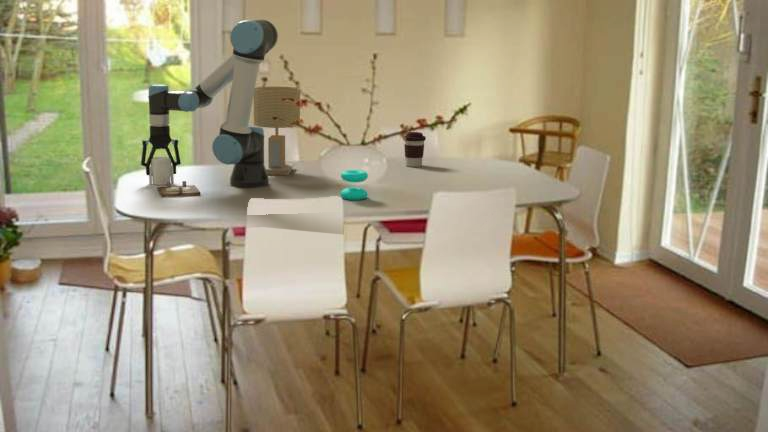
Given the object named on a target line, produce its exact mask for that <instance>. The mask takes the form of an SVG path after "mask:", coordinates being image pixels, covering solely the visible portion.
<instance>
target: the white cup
mask: <svg viewBox="0 0 768 432" xmlns="http://www.w3.org/2000/svg"><path fill="white" fill-rule="evenodd" d="M150 166H151V168H152V185H155V186H164V185H165V186H167V182H171V166H172V163H171V159H170V158H169V156H155V157H154V156H153V159H151V164H150Z"/></svg>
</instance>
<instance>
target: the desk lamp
mask: <svg viewBox="0 0 768 432" xmlns="http://www.w3.org/2000/svg"><path fill="white" fill-rule="evenodd" d="M283 98H293V99H294V100H295V101H300V102H301V88H298V87H293V86H255V90H254V96H253V102H252V103H253V125H254V127H261V128H272V129H275V130H274V132H275V133H274V134H272V135H271V136H269V137H268V138H267V139H268V140H267V141H268V143H267V144H268V147H267V151H268V155H267V157H268V158H267V159H268V162H264V166H265V169H266V172H267V175H275V176H276V175H279V176H280V175H283V176H286V175H287V176H288V175H290V173H291V172H292V170H293V168H294V166H295V165H296V164H295V163H289V162H287V163H286V135H285V134H284V135H282V134H280V135H279V129H280V128H281V129H285V128H294V127H295V128H296V127H297V126H291V125H290V124H289V123H287V122H290V123H291V122H294V121H295V120H297V119H300V120H301V106H300V107H297V106H296V105H295V104H294V103H292V102H290V101H281V99H283ZM272 117H281V118H282V119H284V120H285V121H287V122H284V121H281V120H278V119H277V120H273V118H272Z"/></svg>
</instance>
